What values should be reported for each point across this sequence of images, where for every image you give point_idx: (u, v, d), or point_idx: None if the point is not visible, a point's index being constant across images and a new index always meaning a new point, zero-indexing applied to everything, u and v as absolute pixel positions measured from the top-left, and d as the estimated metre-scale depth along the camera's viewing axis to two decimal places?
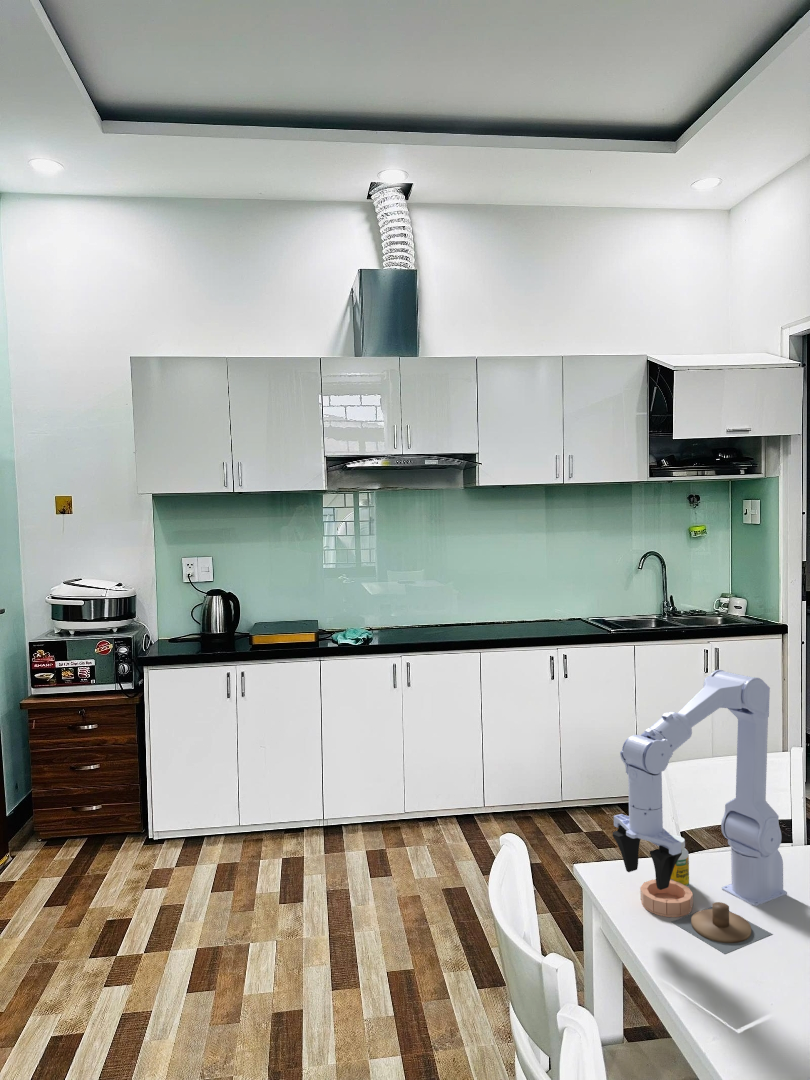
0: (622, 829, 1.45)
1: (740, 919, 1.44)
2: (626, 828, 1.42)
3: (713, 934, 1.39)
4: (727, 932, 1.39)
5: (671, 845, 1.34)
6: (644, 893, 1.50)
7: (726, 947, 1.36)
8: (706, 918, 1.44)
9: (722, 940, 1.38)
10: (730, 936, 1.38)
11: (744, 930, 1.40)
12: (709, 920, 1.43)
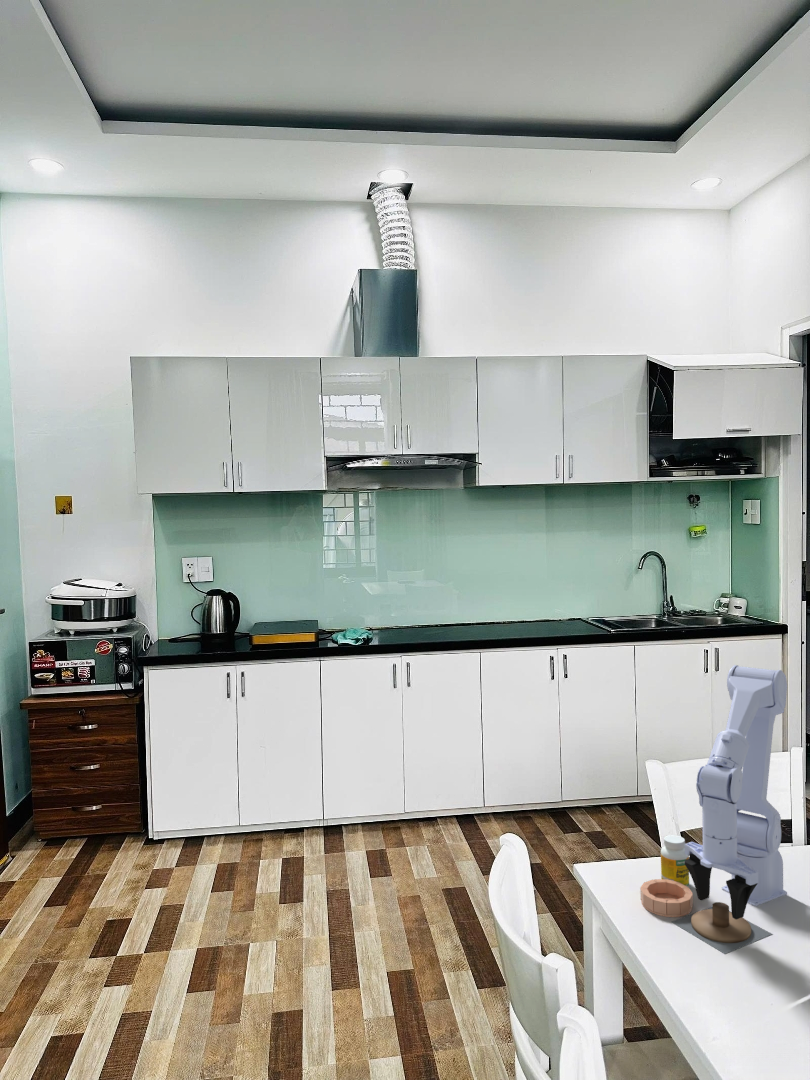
0: (694, 857, 1.46)
1: (740, 919, 1.44)
2: (699, 857, 1.43)
3: (713, 934, 1.39)
4: (727, 932, 1.39)
5: (748, 875, 1.35)
6: (644, 893, 1.50)
7: (726, 947, 1.36)
8: (706, 918, 1.44)
9: (722, 940, 1.38)
10: (730, 936, 1.38)
11: (744, 930, 1.40)
12: (709, 920, 1.43)
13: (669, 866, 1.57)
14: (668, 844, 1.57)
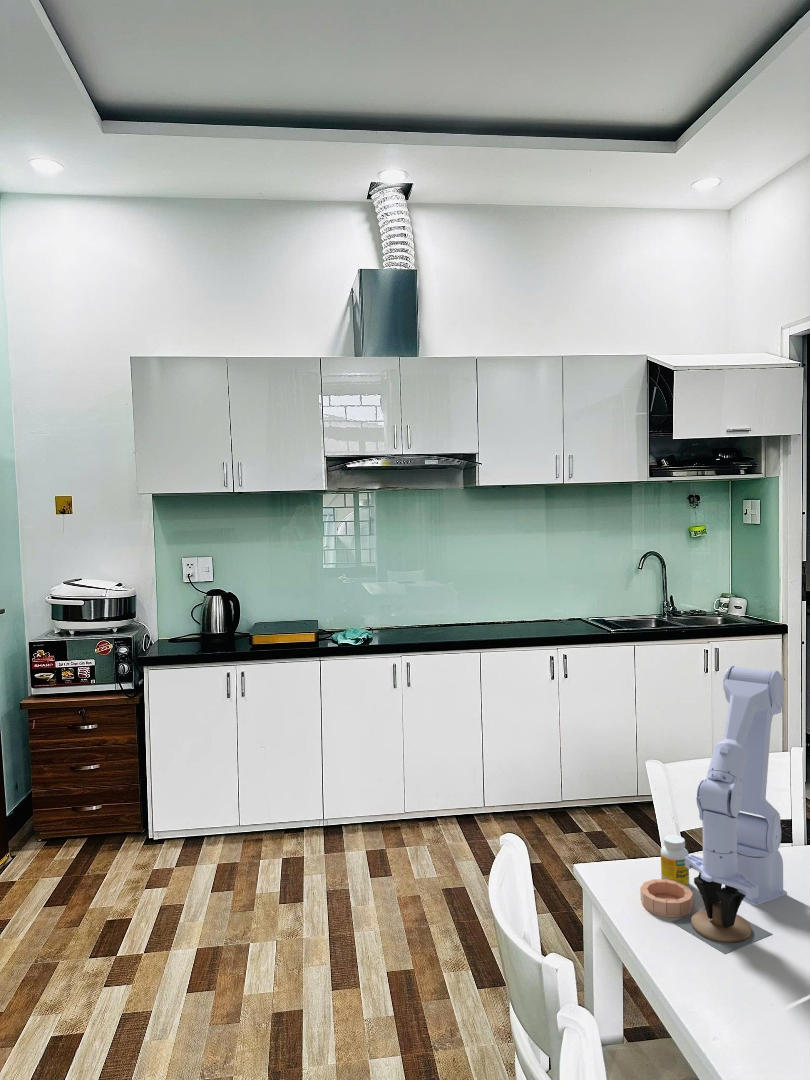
0: None
1: (740, 918, 1.44)
2: (700, 870, 1.43)
3: (713, 934, 1.39)
4: (727, 932, 1.39)
5: (749, 890, 1.35)
6: (644, 893, 1.50)
7: (726, 947, 1.36)
8: (706, 918, 1.44)
9: (722, 940, 1.38)
10: (730, 936, 1.38)
11: (744, 930, 1.40)
12: (709, 920, 1.43)
13: (669, 866, 1.57)
14: (668, 844, 1.57)
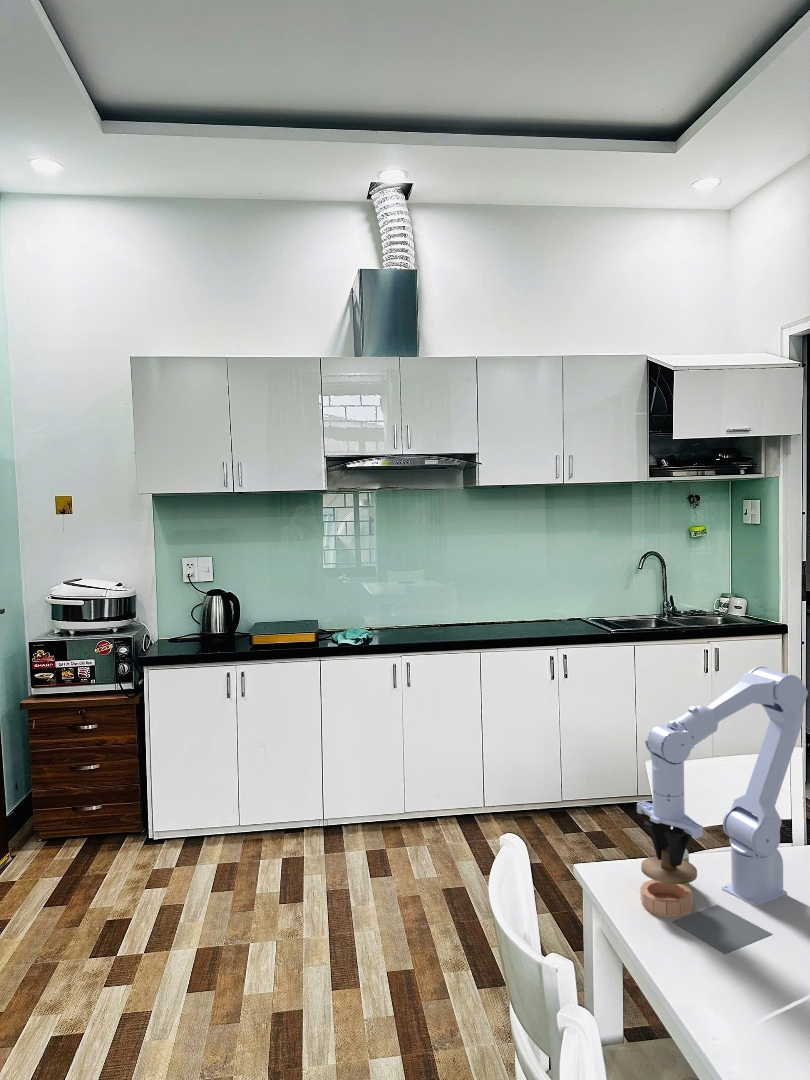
0: None
1: (688, 864, 1.51)
2: (650, 814, 1.51)
3: (660, 876, 1.47)
4: (673, 874, 1.47)
5: (694, 829, 1.43)
6: (644, 893, 1.50)
7: (726, 947, 1.36)
8: (656, 863, 1.52)
9: (668, 881, 1.45)
10: (675, 878, 1.46)
11: (690, 873, 1.48)
12: (658, 864, 1.51)
13: None
14: None
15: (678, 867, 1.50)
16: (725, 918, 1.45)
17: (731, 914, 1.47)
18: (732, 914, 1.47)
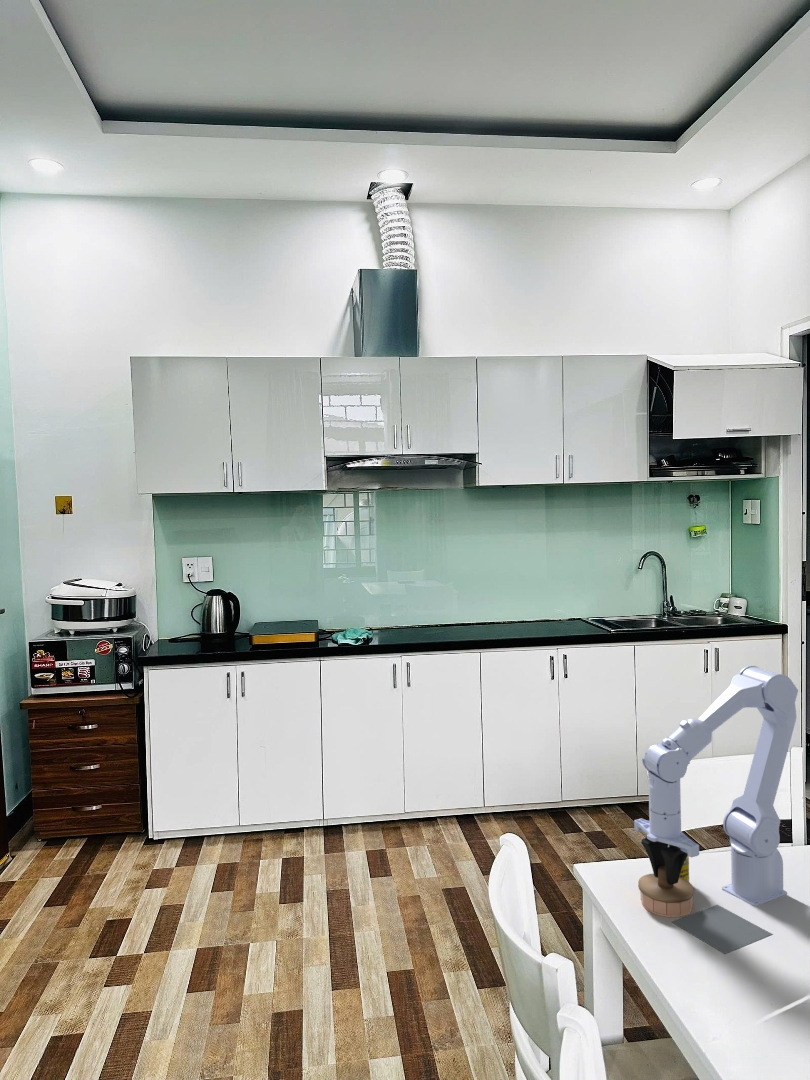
0: None
1: (685, 882, 1.52)
2: (646, 832, 1.52)
3: (656, 894, 1.48)
4: (670, 892, 1.48)
5: (690, 848, 1.44)
6: None
7: (726, 947, 1.36)
8: (653, 880, 1.53)
9: (664, 899, 1.46)
10: (671, 896, 1.47)
11: (686, 891, 1.48)
12: (655, 882, 1.52)
13: None
14: (668, 844, 1.57)
15: (675, 885, 1.51)
16: (725, 918, 1.45)
17: (731, 914, 1.47)
18: (732, 914, 1.47)
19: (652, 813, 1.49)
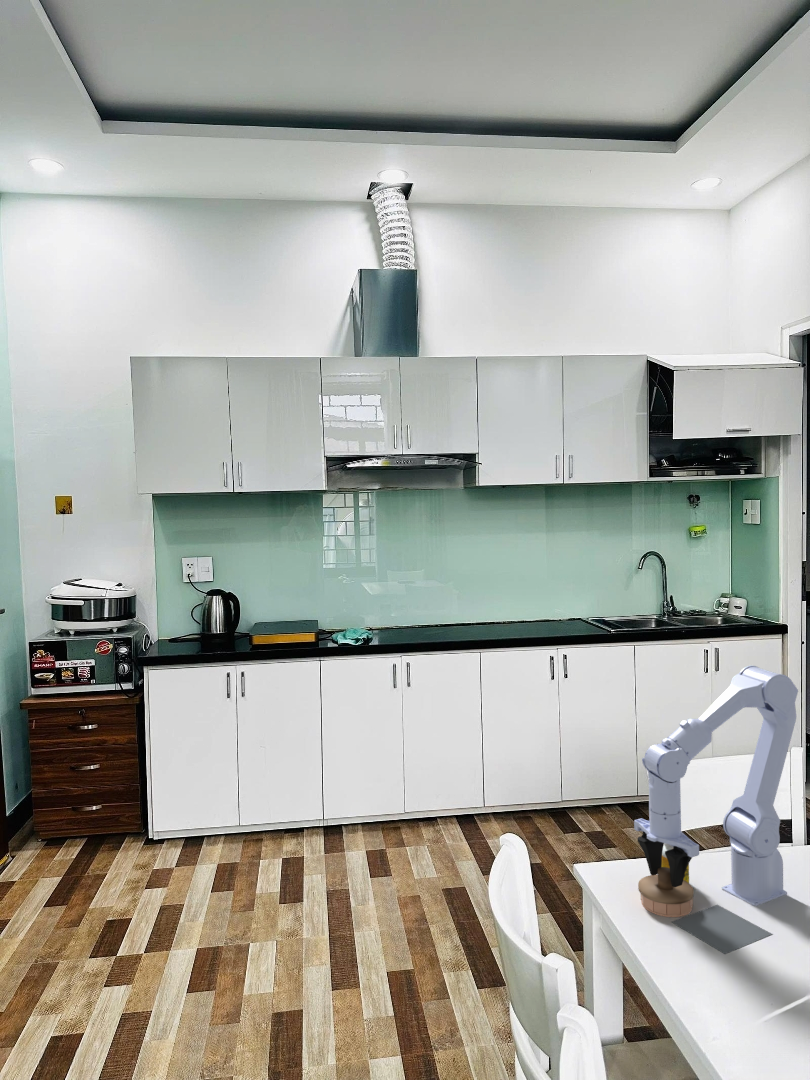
0: None
1: (685, 883, 1.52)
2: (646, 832, 1.52)
3: (656, 896, 1.48)
4: (669, 894, 1.48)
5: (690, 848, 1.44)
6: None
7: (726, 947, 1.36)
8: (652, 882, 1.53)
9: (664, 901, 1.46)
10: (671, 898, 1.47)
11: (686, 893, 1.48)
12: (655, 884, 1.52)
13: None
14: (668, 844, 1.57)
15: None
16: (725, 918, 1.45)
17: (731, 914, 1.47)
18: (732, 914, 1.47)
19: (652, 813, 1.49)
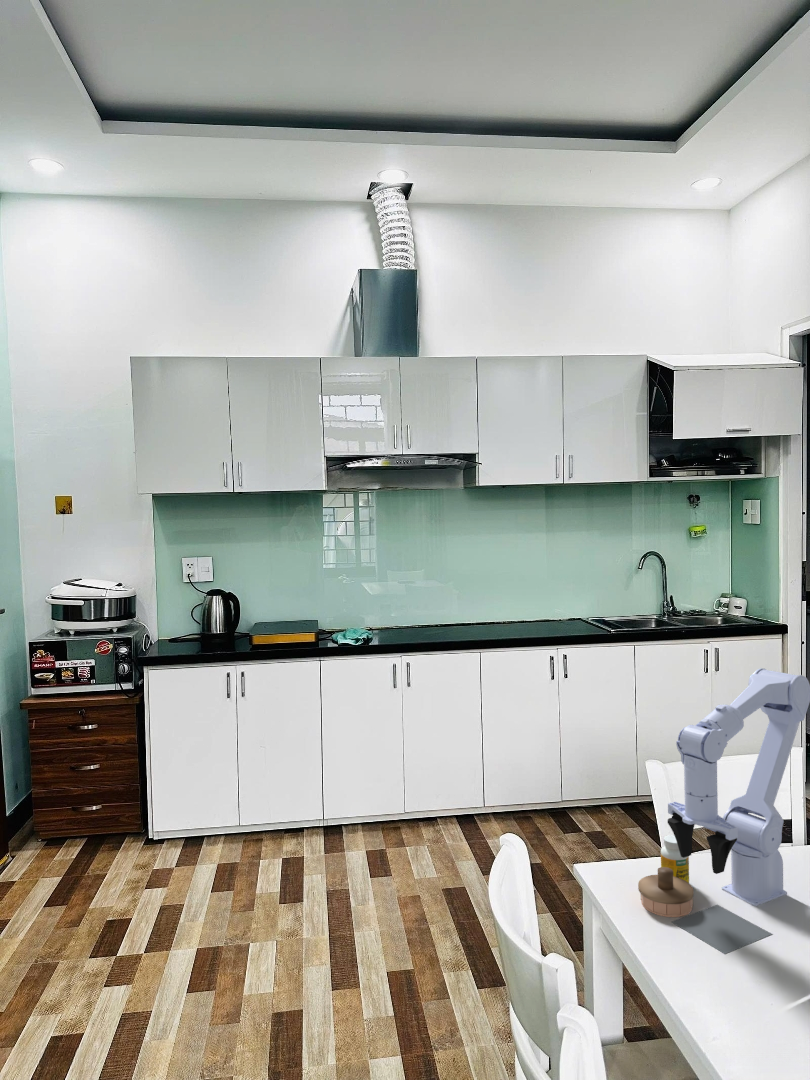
0: (676, 816, 1.51)
1: (685, 883, 1.52)
2: (682, 815, 1.47)
3: (656, 896, 1.48)
4: (669, 894, 1.48)
5: (728, 830, 1.40)
6: None
7: (726, 947, 1.36)
8: (652, 882, 1.53)
9: (664, 901, 1.46)
10: (671, 898, 1.47)
11: (686, 893, 1.48)
12: (655, 884, 1.52)
13: (669, 866, 1.57)
14: (668, 844, 1.57)
15: (675, 886, 1.51)
16: (725, 918, 1.45)
17: (731, 914, 1.47)
18: (732, 914, 1.47)
19: (688, 795, 1.45)
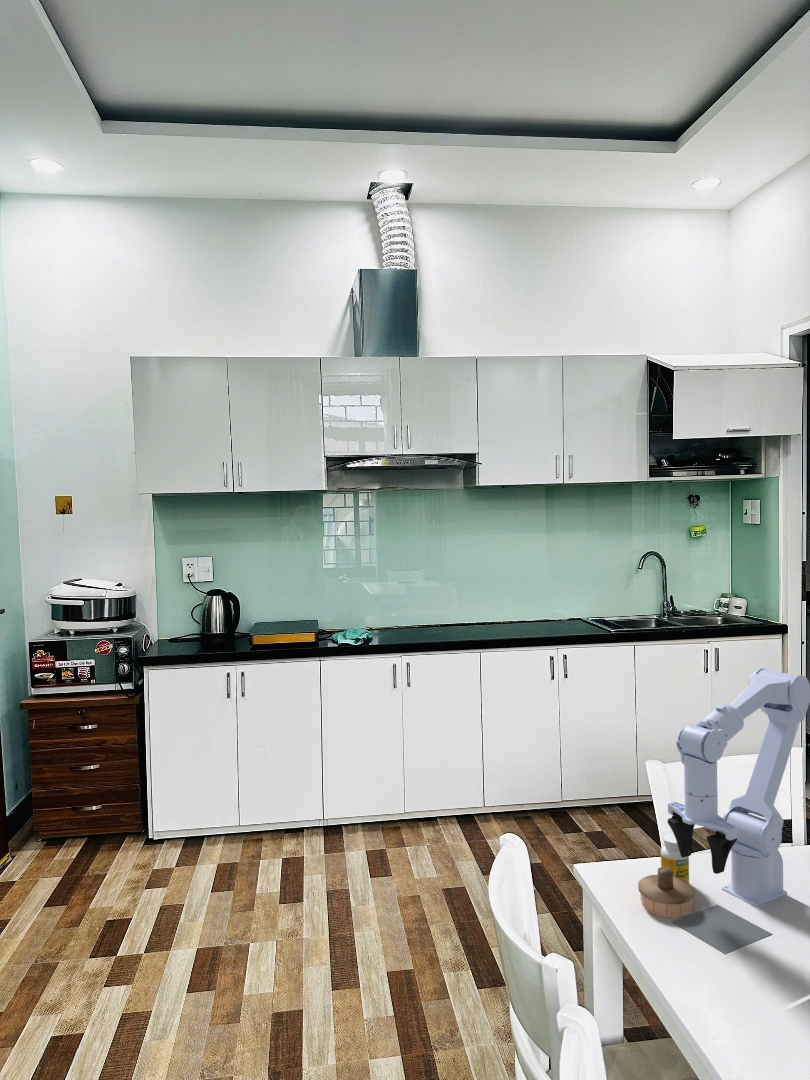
0: (676, 816, 1.51)
1: (685, 883, 1.52)
2: (682, 815, 1.47)
3: (656, 896, 1.48)
4: (669, 894, 1.48)
5: (728, 830, 1.40)
6: None
7: (726, 947, 1.36)
8: (652, 882, 1.53)
9: (664, 901, 1.46)
10: (671, 898, 1.47)
11: (686, 893, 1.48)
12: (655, 884, 1.52)
13: (669, 866, 1.57)
14: (668, 844, 1.57)
15: (675, 886, 1.51)
16: (725, 918, 1.45)
17: (731, 914, 1.47)
18: (732, 914, 1.47)
19: (688, 795, 1.45)
